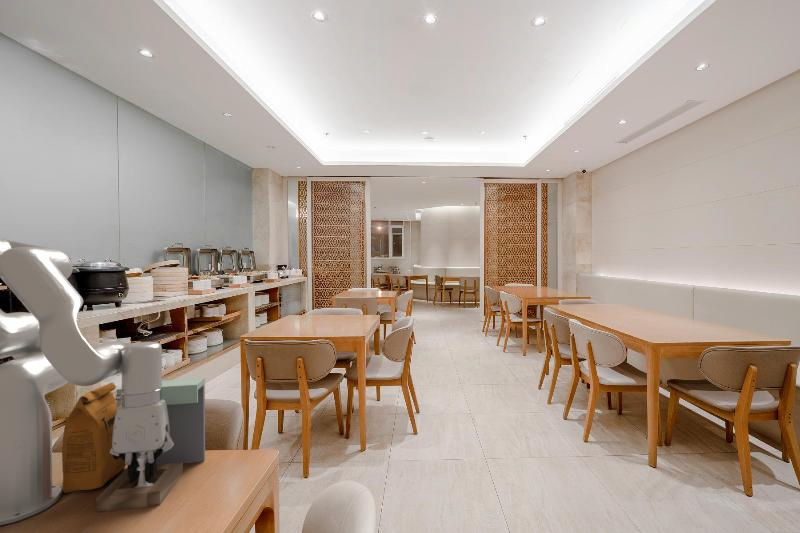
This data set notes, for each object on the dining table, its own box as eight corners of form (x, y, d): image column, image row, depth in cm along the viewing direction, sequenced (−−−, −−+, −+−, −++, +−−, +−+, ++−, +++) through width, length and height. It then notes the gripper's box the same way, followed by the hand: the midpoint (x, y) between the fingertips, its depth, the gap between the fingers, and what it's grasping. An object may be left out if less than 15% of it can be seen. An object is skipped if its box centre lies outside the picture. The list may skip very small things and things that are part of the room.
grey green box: (117, 478, 88) (116, 389, 89) (129, 466, 94) (129, 382, 94) (197, 470, 92) (196, 384, 92) (205, 459, 97) (204, 378, 97)
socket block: (96, 512, 76) (96, 497, 76) (128, 479, 88) (128, 467, 88) (159, 505, 78) (159, 491, 78) (182, 474, 90) (182, 462, 90)
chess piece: (141, 500, 80) (141, 454, 80) (123, 497, 81) (123, 452, 81) (160, 487, 85) (160, 444, 85) (143, 484, 86) (142, 442, 86)
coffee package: (136, 464, 95) (136, 379, 95) (100, 494, 82) (99, 396, 82) (96, 466, 94) (96, 380, 94) (53, 496, 82) (53, 397, 82)
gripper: (91, 406, 78) (91, 492, 78) (174, 401, 81) (174, 484, 81) (112, 394, 86) (112, 473, 85) (187, 390, 88) (187, 466, 88)
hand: (142, 478), depth 83 cm, fingers open, 2 cm apart
